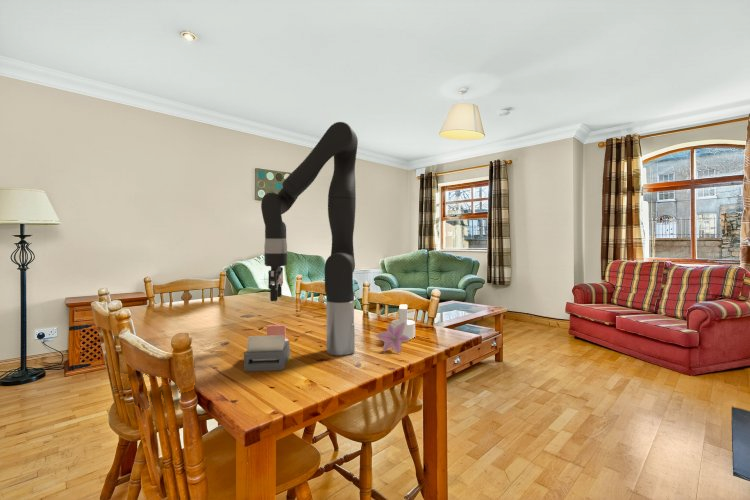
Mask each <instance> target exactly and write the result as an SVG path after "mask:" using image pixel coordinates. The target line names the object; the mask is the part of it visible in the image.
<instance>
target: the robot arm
mask: <svg viewBox="0 0 750 500" xmlns="http://www.w3.org/2000/svg"><path fill="white" fill-rule="evenodd" d="M358 140H359V139H358V136H357V133H356V132H355V131H354V130H353V128H352V127H351V125H350V124H349V123H346V122H344V121H337V122H334V123H333V124H332V125H330V126H329V127H328V128H327V130H326V131H325V133H324V134H323V135H322V137H321V138H320V139H319V141H318V142H317V144H316V145H315V146H314V148H313V149H312V150H311V151H310V153H309V154H308V155H307V156H306V158H304V160H302V162H301V163H300V164H298V166H297V167H296V168H295V169H294V170H293V171H292V172H291V173H290V174H289V175H288V176H287V177H286V178H285V179H284V180H283V182H282V183H281V185H282V188H281V189H280V190H279V192H278V193H276V192H268V193H266V194H264V195H263V197H262V199H261V203H260V209H261V215H262V219H263V223H264V248H263V249H264V252H263V253H264V266H266V267H270V270H268V272H267V273H268V282H267V284H268V285H267V288H268V289H269V292H270V295H269V296H270V297H269V301H270V302H277V301H278V298H281V297H282V296H283V295H282V292H283V291H282V286H283V285H284V278H283V277H284V267H285V266H287V265H288V243H287V225H286V223H285V222H284V221H283V216H282V215H284V214H285V213H287V212H288V211H289V210H291V208H292V207H293V205H294V204H295V203H296V201H297V199H298V198H299V196H300V195H302V194H303V193H304V192H305V191H306V190H307V189H308V188H309V187H310V186H311V185H312V184H313V183H314V181H315V180H316V178H317V177H318V175H319V173H320V172H321V171H322V169H323V167H324V166H325V165H326V163H327V162H329V160H330V159H331V158H333V173H332V176H331V177H332V178H331V181H330V185H329V188H328V194H327V216H328V222H329V226H330V227H329V229H330V233H331V249H330V251H331V252H330V255H329V256H328V257H327V259H326V260H325V263H324V271H323V272H324V292H325V297H326V306H325V307H326V353H327V354H329V355H332V356H347V355H351V354H355V353H356V351H355V292H354V286H353V285H354V282H353V281H354V280H353V279H354V277H353V276H354V274H353V273H354V272H355V267H356V261H355V252H354V250H355V249H354V230H355V222H356V221H355V220H356V208H357V207H356V206H357V205H356V202H357V201H356V197H357V196H356V195H357V194H356V170H355V169H356V160H357V153H358V144H359V143H358V142H359V141H358Z"/></svg>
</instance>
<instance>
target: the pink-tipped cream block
mask: <svg viewBox="0 0 750 500" xmlns="http://www.w3.org/2000/svg"><path fill="white" fill-rule="evenodd" d="M286 325H287V324H268V325H267V326H266V333H267V334H266V336H269V335H284V336H285V341H289V338H287V335H286V334H287V331H286V329H287V326H286ZM263 360H279V359H252V361H263Z"/></svg>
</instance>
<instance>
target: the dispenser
mask: <svg viewBox="0 0 750 500" xmlns="http://www.w3.org/2000/svg"><path fill="white" fill-rule="evenodd" d="M290 356H291V348H290V340H288V341H285V336H284V335H269V336H267V335H249V336H248V338H247V342H246V351H245V352H244V354H243V371H244V372H262V371H263V372H264V371H265V372H266V371H267V372H268V371H270V372H271V371H284V370H285V367H286V365H287V363H288V360H289V358H290ZM252 359H279V360H263V361H252Z"/></svg>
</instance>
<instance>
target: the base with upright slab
mask: <svg viewBox="0 0 750 500" xmlns="http://www.w3.org/2000/svg"><path fill="white" fill-rule="evenodd" d="M403 322H405V327H404V331H403V335H405V336H407V337H409V338H410V339H412V338H414V337H415V338H416V321H415V320H411V319H408V304H406V303H405V304H400V303H399V308H398V319H394V320H392V321H391V325H392V326H393V327H394V328H395V327H396V326H398V325H399V324H401V323H403Z"/></svg>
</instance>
